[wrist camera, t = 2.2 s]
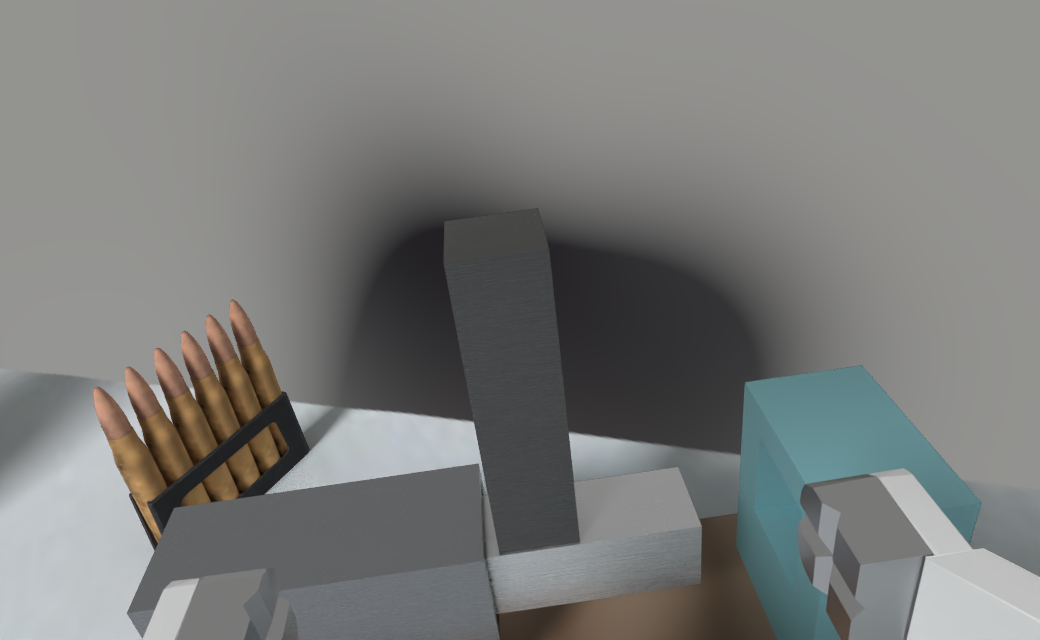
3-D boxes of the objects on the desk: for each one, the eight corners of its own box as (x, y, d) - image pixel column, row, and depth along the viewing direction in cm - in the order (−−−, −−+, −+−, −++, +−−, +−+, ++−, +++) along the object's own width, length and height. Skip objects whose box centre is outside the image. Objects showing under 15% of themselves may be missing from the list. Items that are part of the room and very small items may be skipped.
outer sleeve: (178, 696, 28) (127, 613, 25) (215, 588, 32) (174, 507, 29) (502, 648, 28) (483, 560, 25) (495, 547, 32) (478, 463, 29)
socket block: (804, 702, 29) (830, 525, 24) (735, 545, 36) (744, 382, 30) (928, 683, 29) (981, 502, 24) (836, 531, 36) (862, 365, 30)
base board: (161, 874, 27) (101, 801, 25) (240, 606, 38) (204, 533, 35) (950, 755, 28) (981, 669, 25) (815, 522, 38) (826, 442, 35)
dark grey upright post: (216, 655, 28) (35, 322, 20) (237, 587, 31) (84, 271, 23) (700, 583, 28) (707, 227, 20) (678, 522, 31) (676, 187, 23)
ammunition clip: (290, 444, 49) (233, 290, 43) (310, 450, 48) (255, 294, 42) (159, 562, 41) (66, 394, 35) (180, 572, 40) (90, 402, 34)
